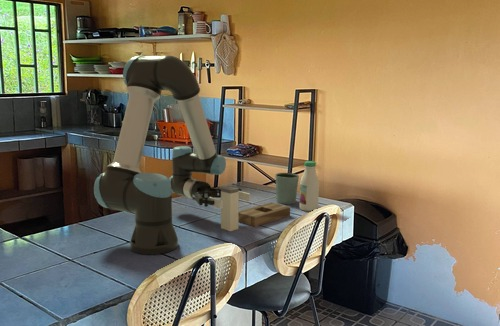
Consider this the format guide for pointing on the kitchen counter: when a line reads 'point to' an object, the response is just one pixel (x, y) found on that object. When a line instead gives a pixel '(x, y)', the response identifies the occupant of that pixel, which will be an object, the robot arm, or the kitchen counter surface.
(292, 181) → the green cup
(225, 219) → the plug
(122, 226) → the kitchen counter surface
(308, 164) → the milk bottle
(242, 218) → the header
